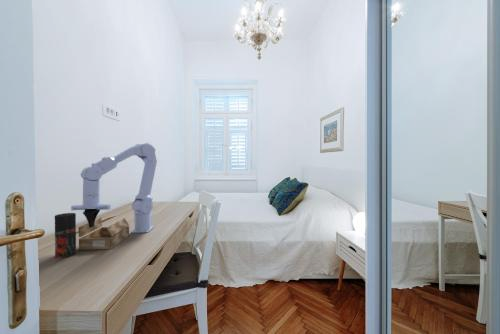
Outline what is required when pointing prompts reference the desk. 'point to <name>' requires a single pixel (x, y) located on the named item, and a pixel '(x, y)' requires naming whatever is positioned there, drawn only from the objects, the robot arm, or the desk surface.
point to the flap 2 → (117, 227)
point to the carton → (102, 239)
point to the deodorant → (65, 235)
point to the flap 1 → (86, 229)
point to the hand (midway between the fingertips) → (91, 226)
